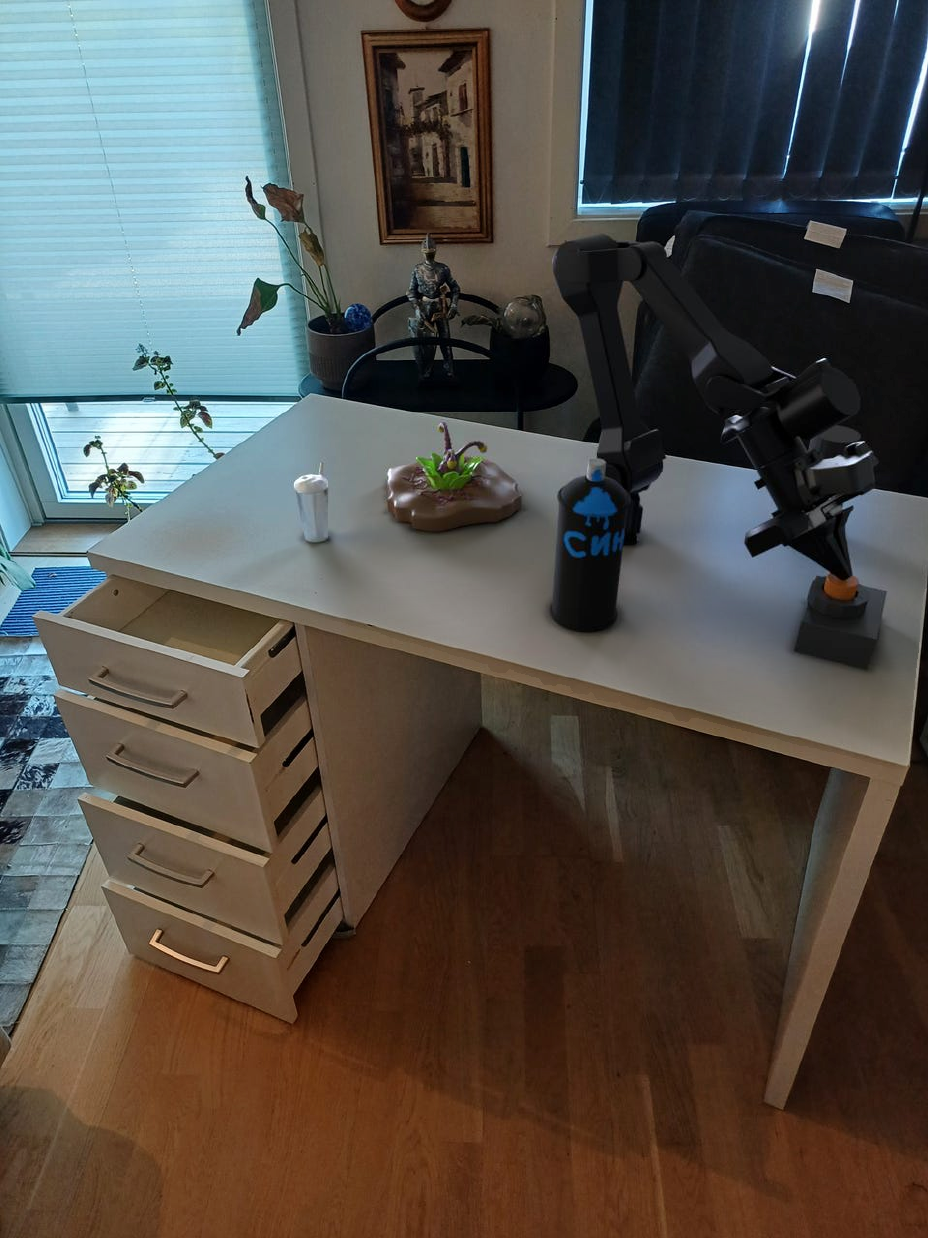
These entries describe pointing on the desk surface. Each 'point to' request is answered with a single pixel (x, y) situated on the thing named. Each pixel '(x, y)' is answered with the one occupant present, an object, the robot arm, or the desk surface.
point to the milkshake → (313, 505)
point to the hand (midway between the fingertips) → (847, 578)
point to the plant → (451, 490)
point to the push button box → (841, 625)
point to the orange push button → (841, 587)
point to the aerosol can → (589, 550)
